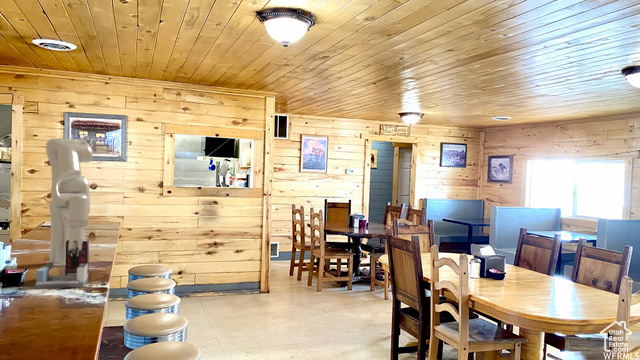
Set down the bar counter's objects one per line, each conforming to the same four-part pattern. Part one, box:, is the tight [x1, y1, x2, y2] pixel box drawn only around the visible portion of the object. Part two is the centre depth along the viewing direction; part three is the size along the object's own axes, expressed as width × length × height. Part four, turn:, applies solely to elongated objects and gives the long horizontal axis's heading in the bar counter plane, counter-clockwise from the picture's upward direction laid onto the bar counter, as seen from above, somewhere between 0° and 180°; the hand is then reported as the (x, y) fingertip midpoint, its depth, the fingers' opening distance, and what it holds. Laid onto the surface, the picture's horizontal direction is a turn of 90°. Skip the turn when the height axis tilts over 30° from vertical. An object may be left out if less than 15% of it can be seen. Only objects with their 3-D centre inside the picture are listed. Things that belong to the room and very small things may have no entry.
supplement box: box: [64, 238, 90, 278], centre depth 204 cm, size 9×5×16 cm, turn 108°
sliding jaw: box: [35, 262, 54, 283], centre depth 193 cm, size 16×2×5 cm, turn 17°
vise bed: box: [34, 263, 89, 289], centre depth 191 cm, size 10×17×8 cm, turn 107°
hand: (77, 263), depth 204 cm, fingers open, 9 cm apart
